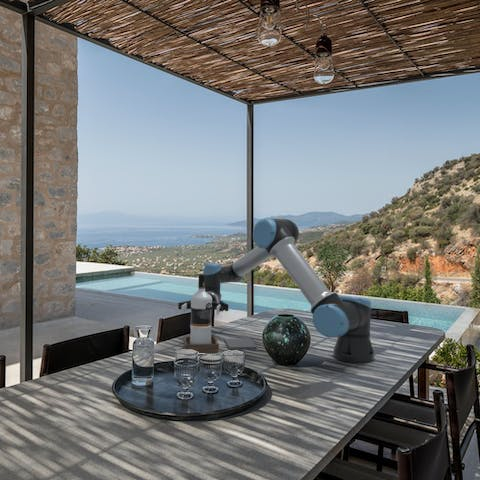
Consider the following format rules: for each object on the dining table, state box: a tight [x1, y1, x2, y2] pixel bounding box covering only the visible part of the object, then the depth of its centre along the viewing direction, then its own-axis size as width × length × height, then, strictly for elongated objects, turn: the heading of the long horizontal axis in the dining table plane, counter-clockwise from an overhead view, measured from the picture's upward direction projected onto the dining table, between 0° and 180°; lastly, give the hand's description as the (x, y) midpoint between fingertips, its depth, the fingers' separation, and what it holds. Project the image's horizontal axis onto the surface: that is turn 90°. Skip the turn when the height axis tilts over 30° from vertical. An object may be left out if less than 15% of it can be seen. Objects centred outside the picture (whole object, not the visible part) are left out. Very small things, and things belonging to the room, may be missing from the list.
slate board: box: [224, 337, 258, 351], centre depth 191 cm, size 14×11×1 cm
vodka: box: [189, 273, 213, 344], centre depth 181 cm, size 9×9×30 cm
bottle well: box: [182, 335, 220, 353], centre depth 181 cm, size 13×13×4 cm
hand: (199, 310), depth 178 cm, fingers open, 13 cm apart
